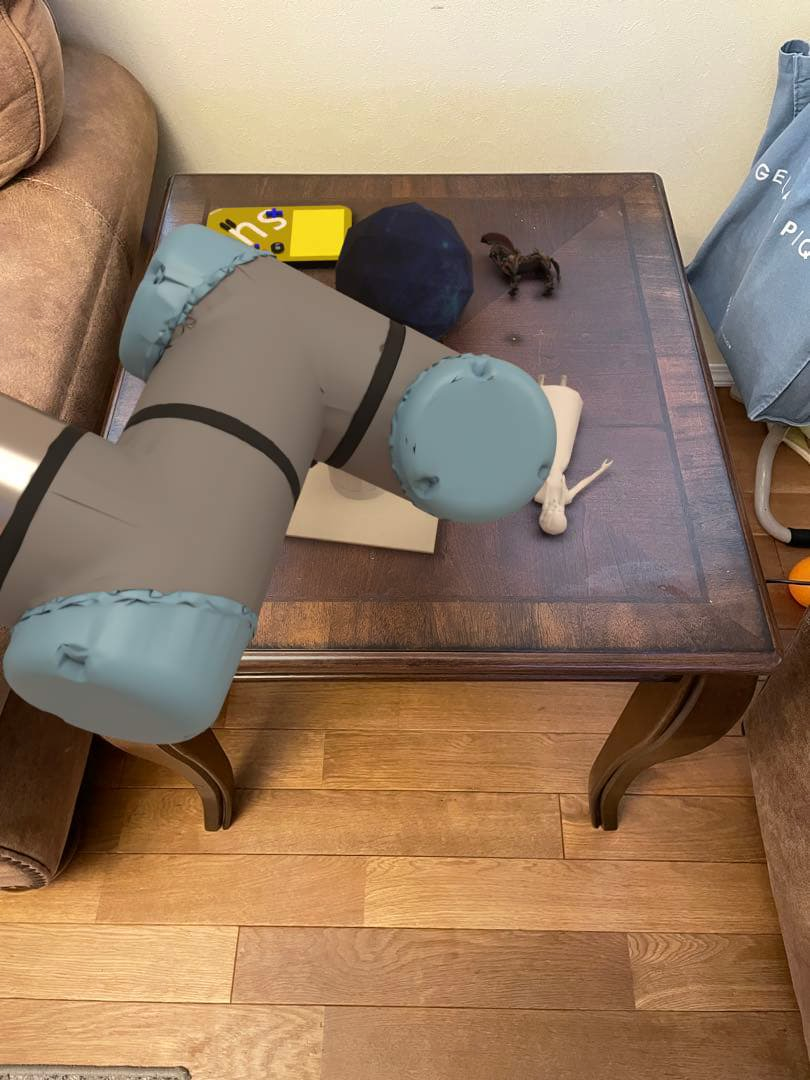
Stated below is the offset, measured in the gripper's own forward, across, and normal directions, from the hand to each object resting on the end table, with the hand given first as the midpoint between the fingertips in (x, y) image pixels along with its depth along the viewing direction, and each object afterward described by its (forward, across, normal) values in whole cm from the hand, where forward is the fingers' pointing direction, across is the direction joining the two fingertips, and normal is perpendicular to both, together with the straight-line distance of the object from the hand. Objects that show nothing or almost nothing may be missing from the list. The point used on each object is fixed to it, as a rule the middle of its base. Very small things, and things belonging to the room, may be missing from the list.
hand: (359, 421), depth 69 cm
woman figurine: (+5, +18, -9) cm, 21 cm away
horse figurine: (+22, +25, +9) cm, 35 cm away
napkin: (+8, 0, -6) cm, 9 cm away
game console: (+35, 0, +21) cm, 41 cm away
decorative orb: (+21, +10, +7) cm, 24 cm away
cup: (+7, 0, -6) cm, 9 cm away
